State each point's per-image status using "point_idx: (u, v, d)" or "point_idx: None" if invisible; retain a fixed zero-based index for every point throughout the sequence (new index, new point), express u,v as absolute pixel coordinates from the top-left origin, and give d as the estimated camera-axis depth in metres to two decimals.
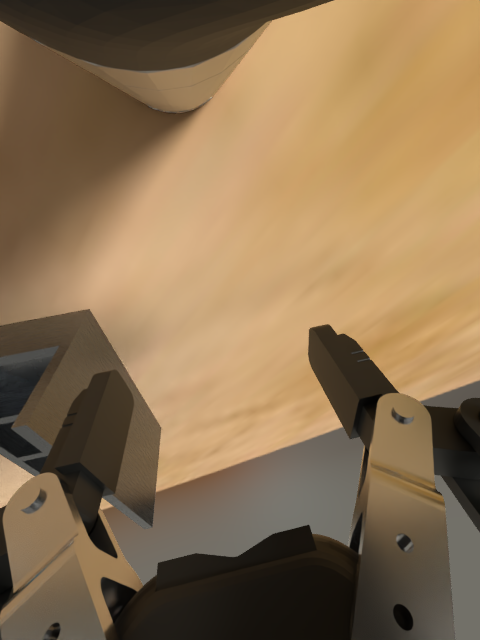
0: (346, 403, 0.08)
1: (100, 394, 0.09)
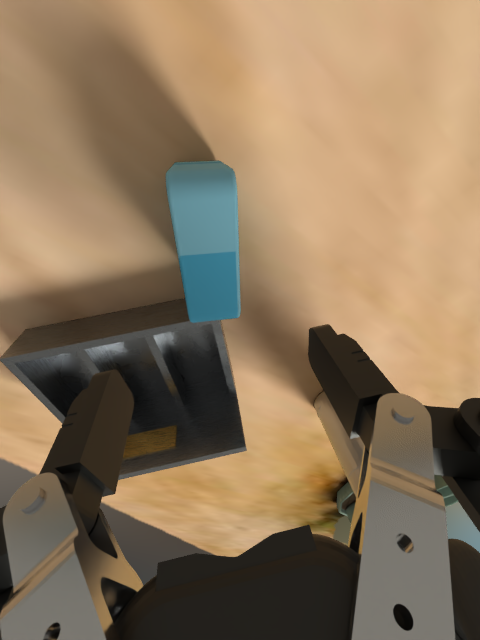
0: (346, 403, 0.08)
1: (100, 394, 0.09)
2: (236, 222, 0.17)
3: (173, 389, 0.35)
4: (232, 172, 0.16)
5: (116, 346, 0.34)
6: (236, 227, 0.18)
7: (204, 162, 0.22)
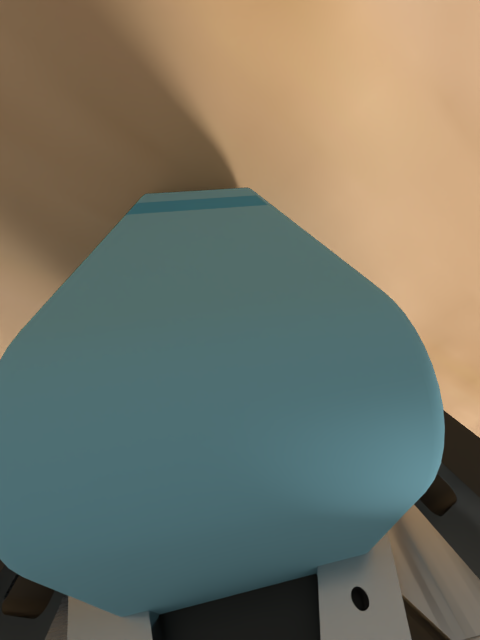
0: None
1: None
2: None
3: None
4: (415, 338, 0.03)
5: None
6: None
7: (216, 199, 0.08)
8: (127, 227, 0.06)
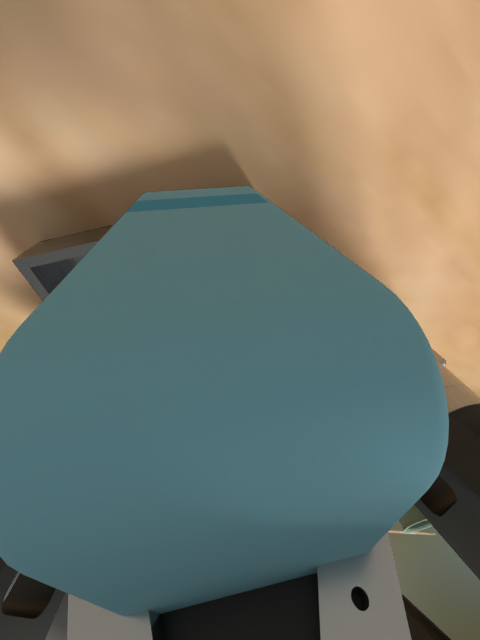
0: None
1: None
2: None
3: None
4: (419, 332, 0.03)
5: None
6: None
7: (216, 197, 0.08)
8: (127, 224, 0.06)
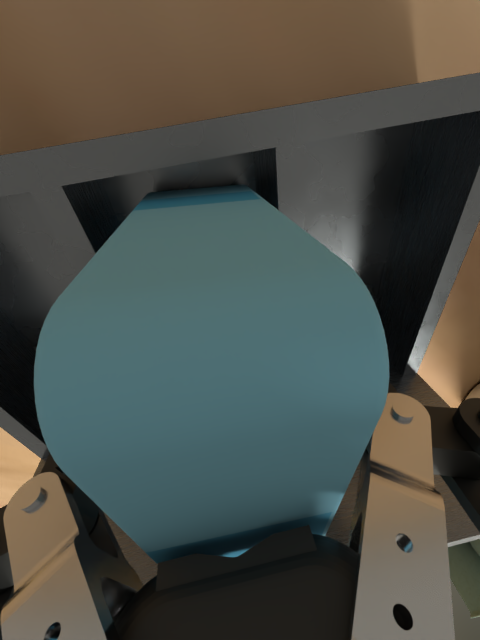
0: None
1: None
2: (357, 464, 0.04)
3: None
4: (366, 295, 0.03)
5: None
6: (352, 473, 0.05)
7: (214, 195, 0.09)
8: (135, 221, 0.07)
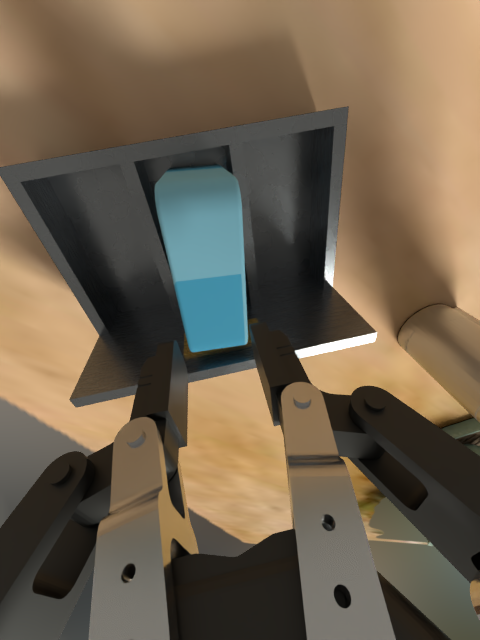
0: (268, 392, 0.09)
1: (169, 359, 0.10)
2: (241, 240, 0.14)
3: (251, 266, 0.24)
4: (235, 181, 0.14)
5: None
6: (241, 246, 0.15)
7: (201, 167, 0.19)
8: (168, 173, 0.17)
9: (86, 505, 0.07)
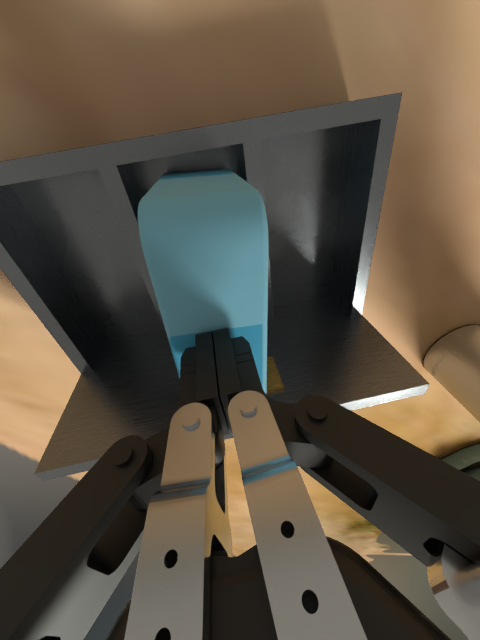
0: None
1: (210, 349, 0.10)
2: (265, 282, 0.10)
3: None
4: (259, 197, 0.09)
5: None
6: (265, 289, 0.10)
7: (206, 173, 0.15)
8: (162, 182, 0.12)
9: (141, 492, 0.07)
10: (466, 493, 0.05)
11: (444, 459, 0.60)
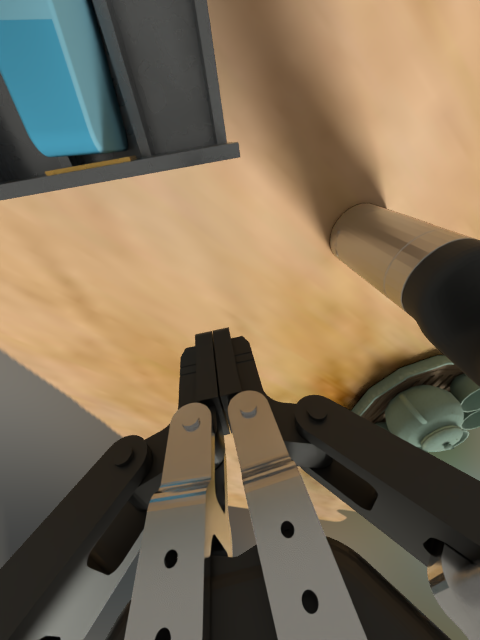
0: None
1: (209, 348, 0.10)
2: None
3: (131, 104, 0.24)
4: None
5: None
6: None
7: None
8: None
9: (141, 492, 0.07)
10: (466, 493, 0.05)
11: (384, 379, 0.64)
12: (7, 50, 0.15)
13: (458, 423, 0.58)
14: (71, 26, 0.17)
